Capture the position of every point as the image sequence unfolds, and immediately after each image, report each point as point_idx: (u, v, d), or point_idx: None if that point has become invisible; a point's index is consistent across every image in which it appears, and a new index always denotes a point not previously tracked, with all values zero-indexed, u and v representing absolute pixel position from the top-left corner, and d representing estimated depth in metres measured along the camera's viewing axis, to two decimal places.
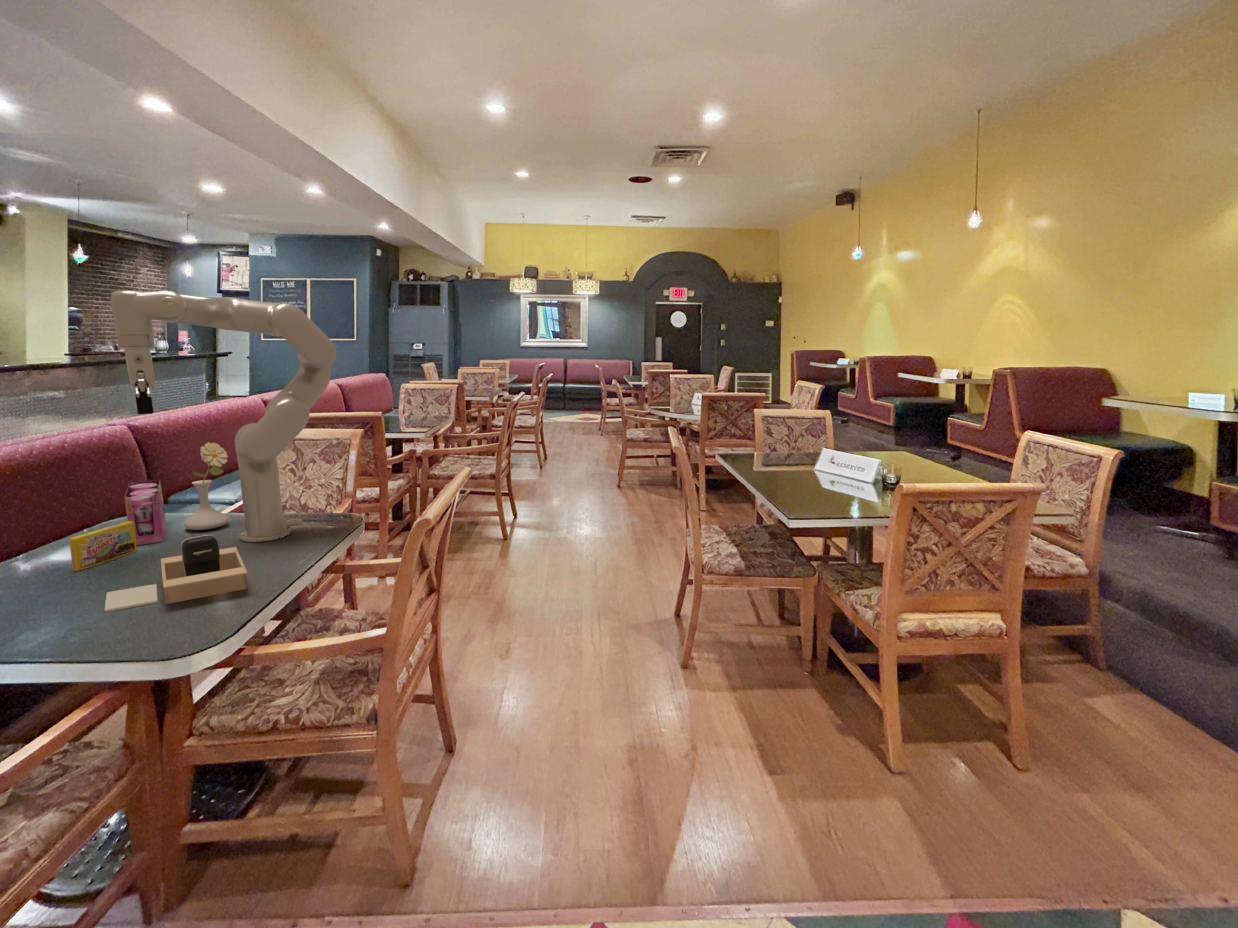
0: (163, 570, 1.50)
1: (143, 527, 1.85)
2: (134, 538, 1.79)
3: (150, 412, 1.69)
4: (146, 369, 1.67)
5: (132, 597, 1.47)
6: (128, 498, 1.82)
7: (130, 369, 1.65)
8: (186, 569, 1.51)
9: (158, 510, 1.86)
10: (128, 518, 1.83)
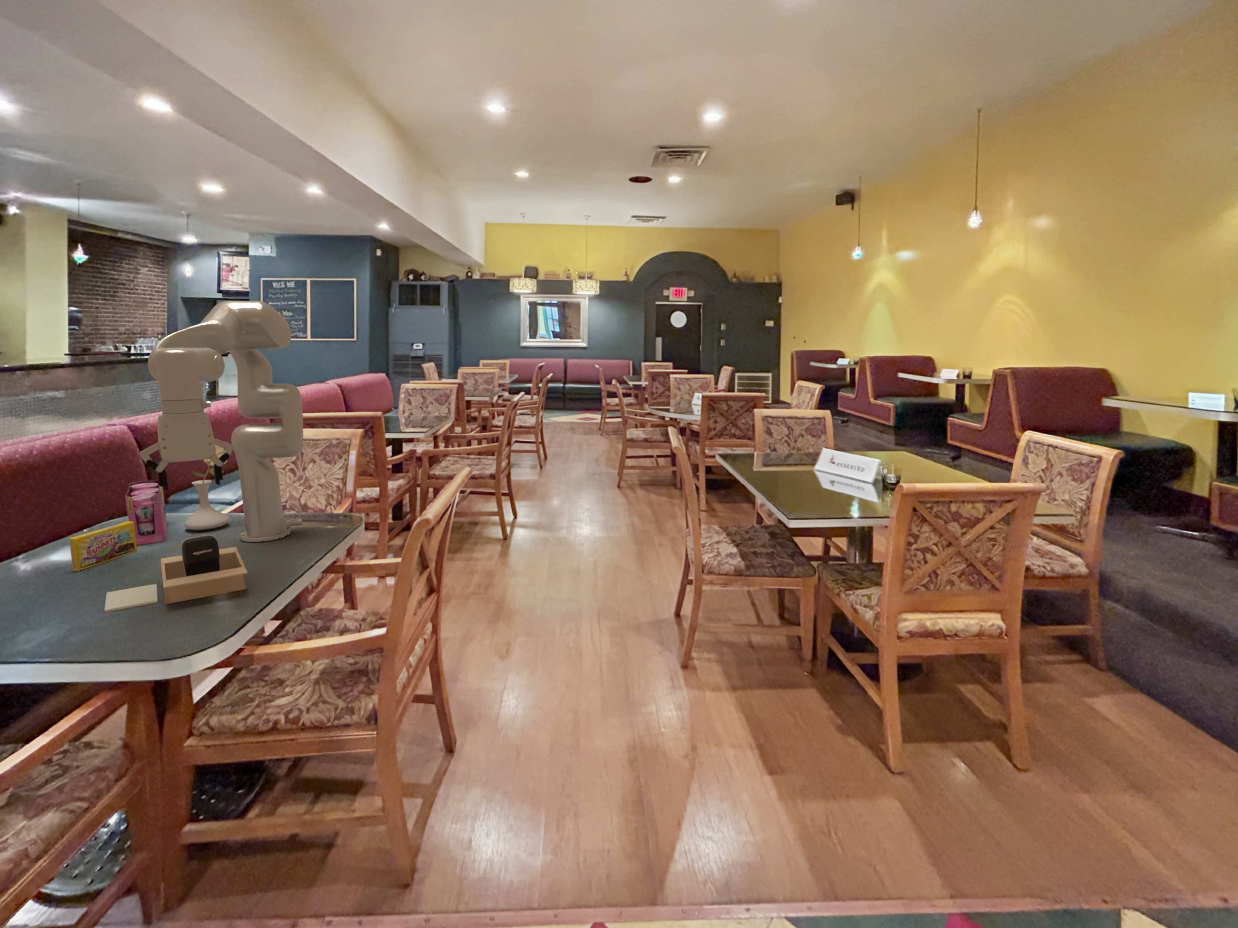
0: (163, 570, 1.50)
1: (144, 526, 1.85)
2: (134, 538, 1.79)
3: None
4: None
5: (132, 597, 1.47)
6: (129, 498, 1.83)
7: (212, 436, 1.49)
8: (186, 569, 1.51)
9: (159, 510, 1.87)
10: (129, 518, 1.83)
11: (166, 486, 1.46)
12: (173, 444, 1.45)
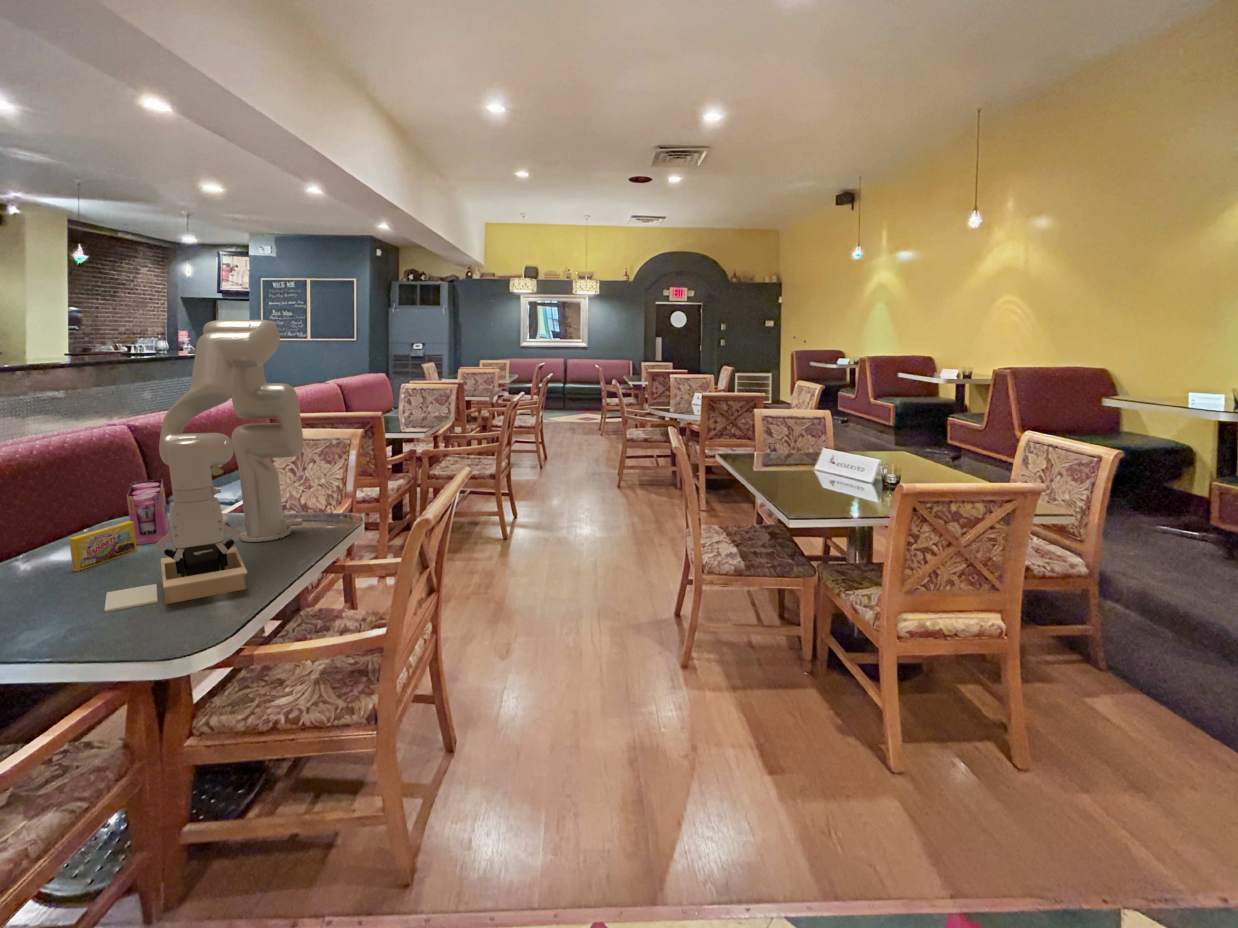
0: (163, 570, 1.50)
1: (145, 526, 1.86)
2: (134, 538, 1.79)
3: None
4: None
5: (132, 597, 1.47)
6: (130, 497, 1.83)
7: (222, 521, 1.52)
8: (186, 569, 1.51)
9: (160, 509, 1.87)
10: (130, 517, 1.84)
11: (183, 574, 1.50)
12: (184, 531, 1.48)
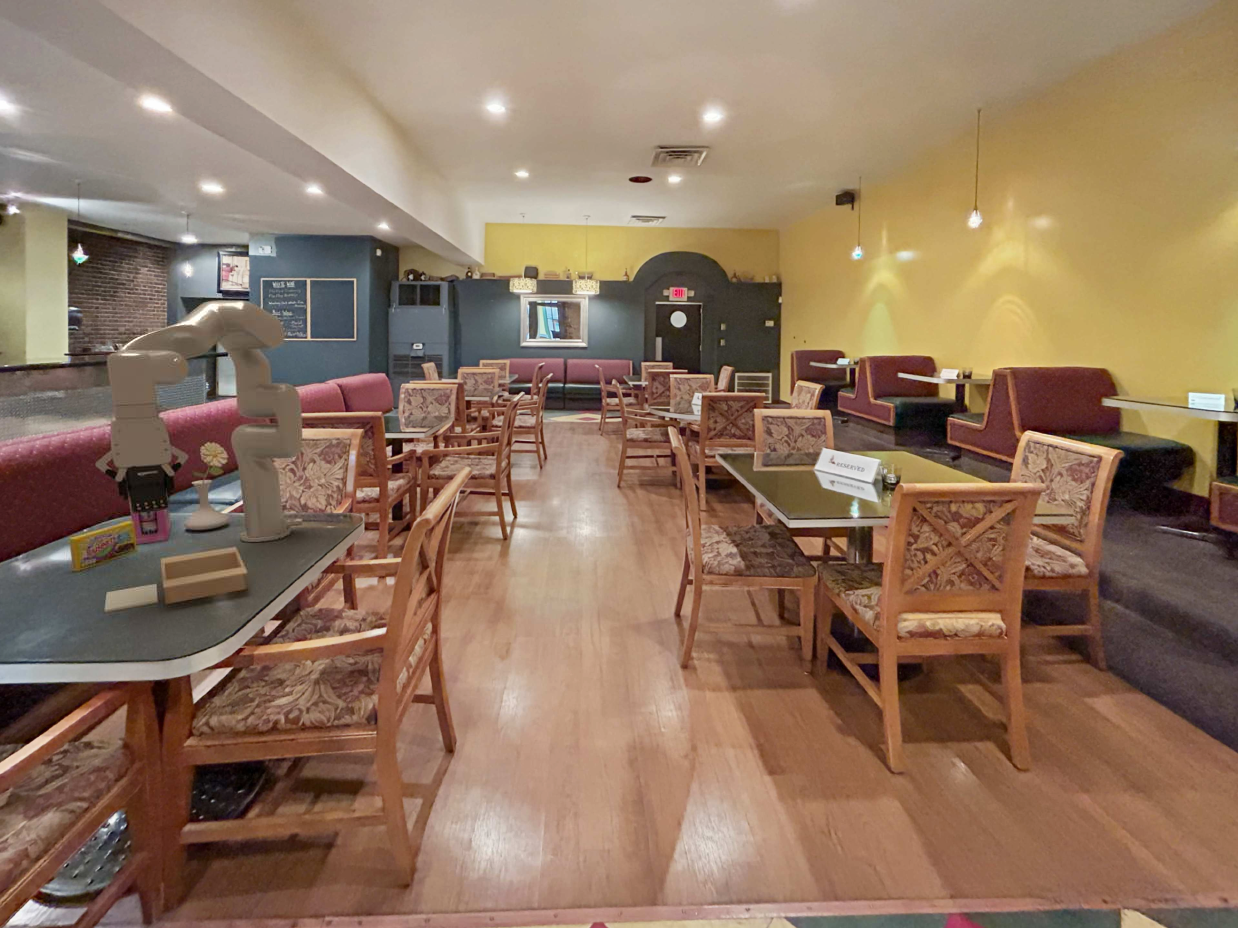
0: (163, 570, 1.50)
1: (147, 525, 1.86)
2: (134, 538, 1.79)
3: None
4: None
5: (132, 597, 1.47)
6: None
7: (167, 441, 1.45)
8: (130, 491, 1.44)
9: None
10: (132, 517, 1.84)
11: (126, 495, 1.42)
12: (127, 450, 1.41)
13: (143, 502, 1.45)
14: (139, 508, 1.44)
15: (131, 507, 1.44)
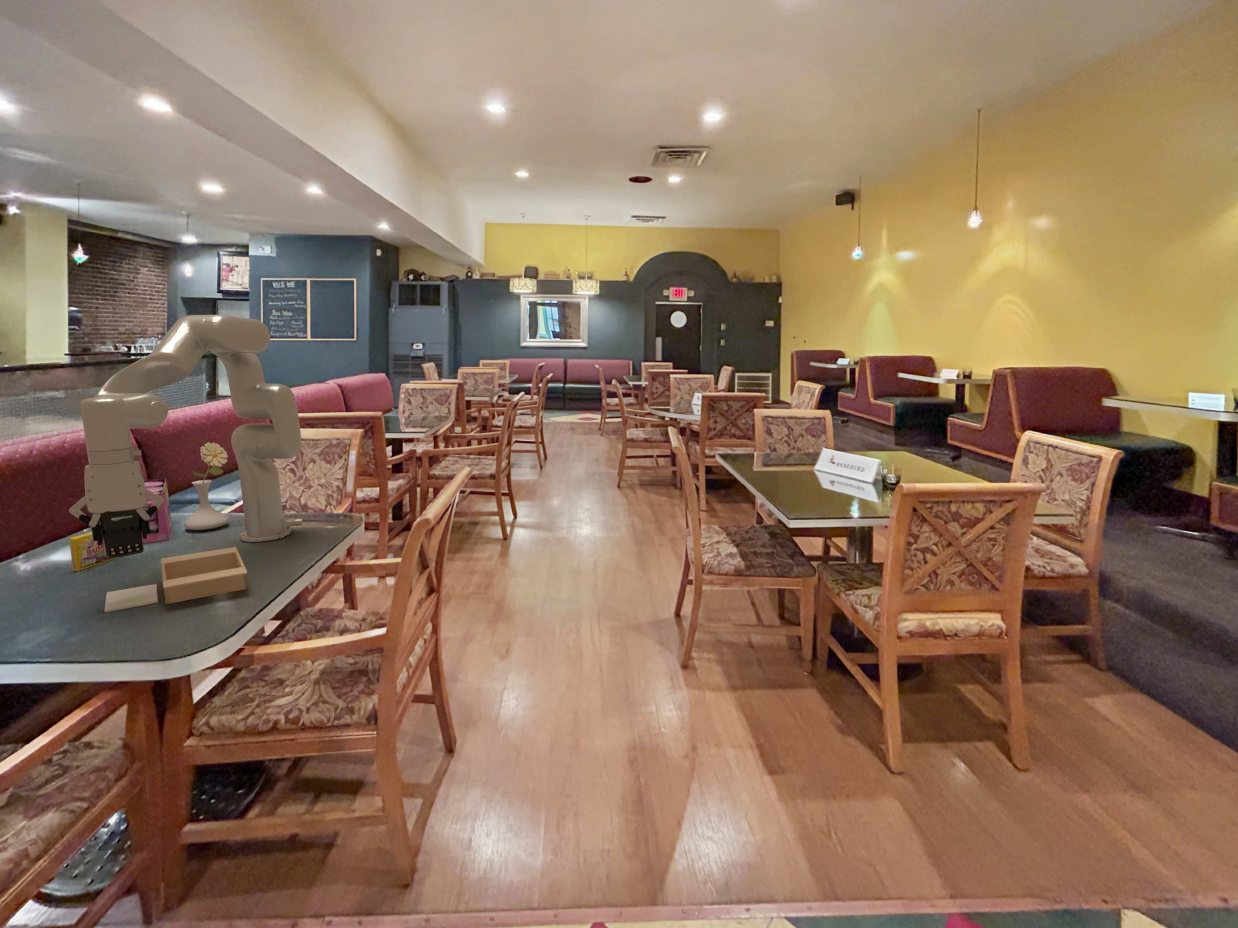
0: (163, 570, 1.50)
1: None
2: None
3: None
4: None
5: (132, 597, 1.47)
6: None
7: (142, 485, 1.44)
8: (104, 536, 1.43)
9: (163, 509, 1.88)
10: None
11: (100, 541, 1.41)
12: (100, 495, 1.40)
13: (118, 546, 1.44)
14: (113, 553, 1.43)
15: (105, 552, 1.43)
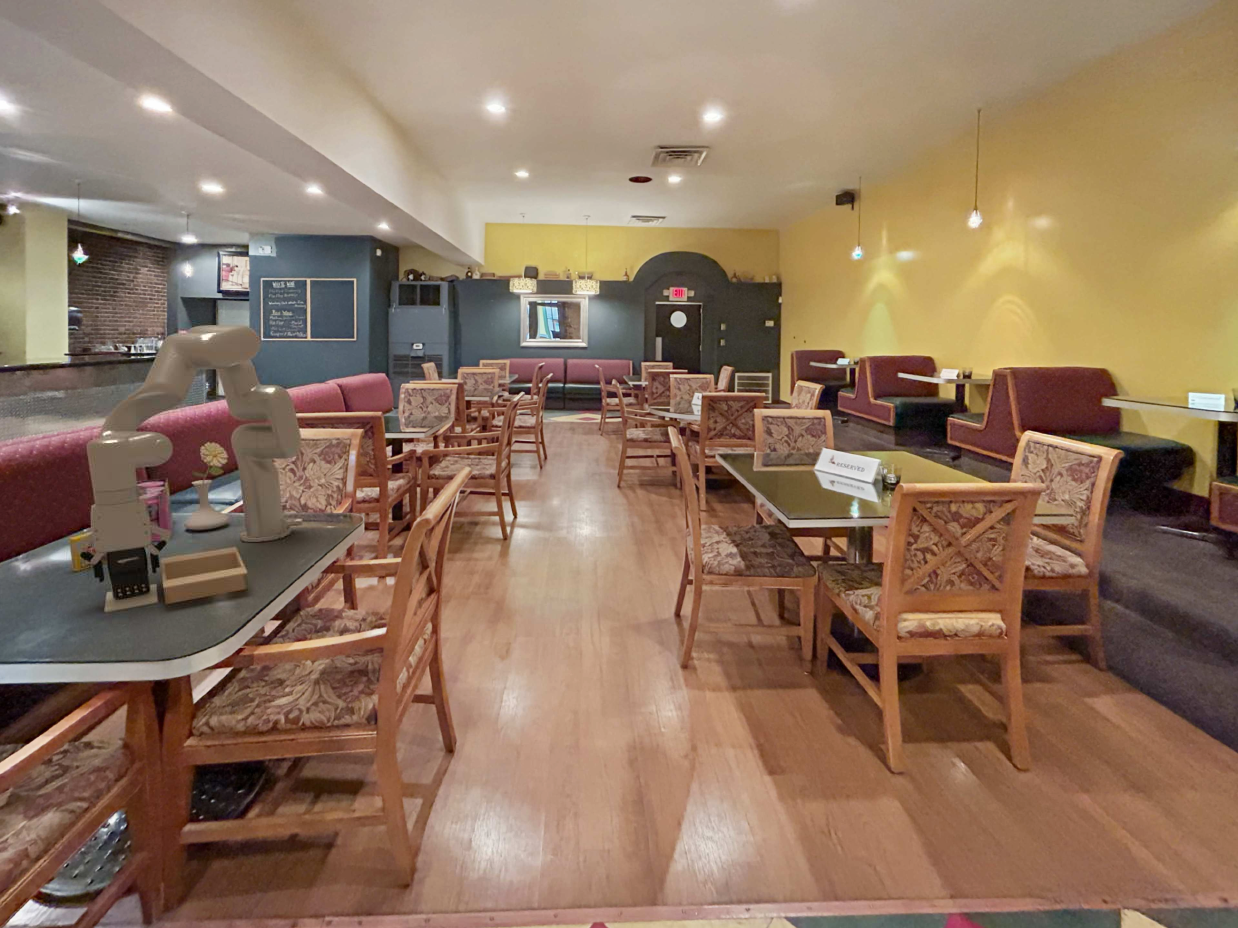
0: (163, 570, 1.50)
1: None
2: None
3: None
4: None
5: (132, 597, 1.47)
6: None
7: (148, 524, 1.45)
8: (111, 578, 1.45)
9: (164, 508, 1.88)
10: None
11: (101, 578, 1.42)
12: (107, 535, 1.41)
13: (124, 587, 1.46)
14: (120, 594, 1.45)
15: (113, 593, 1.45)
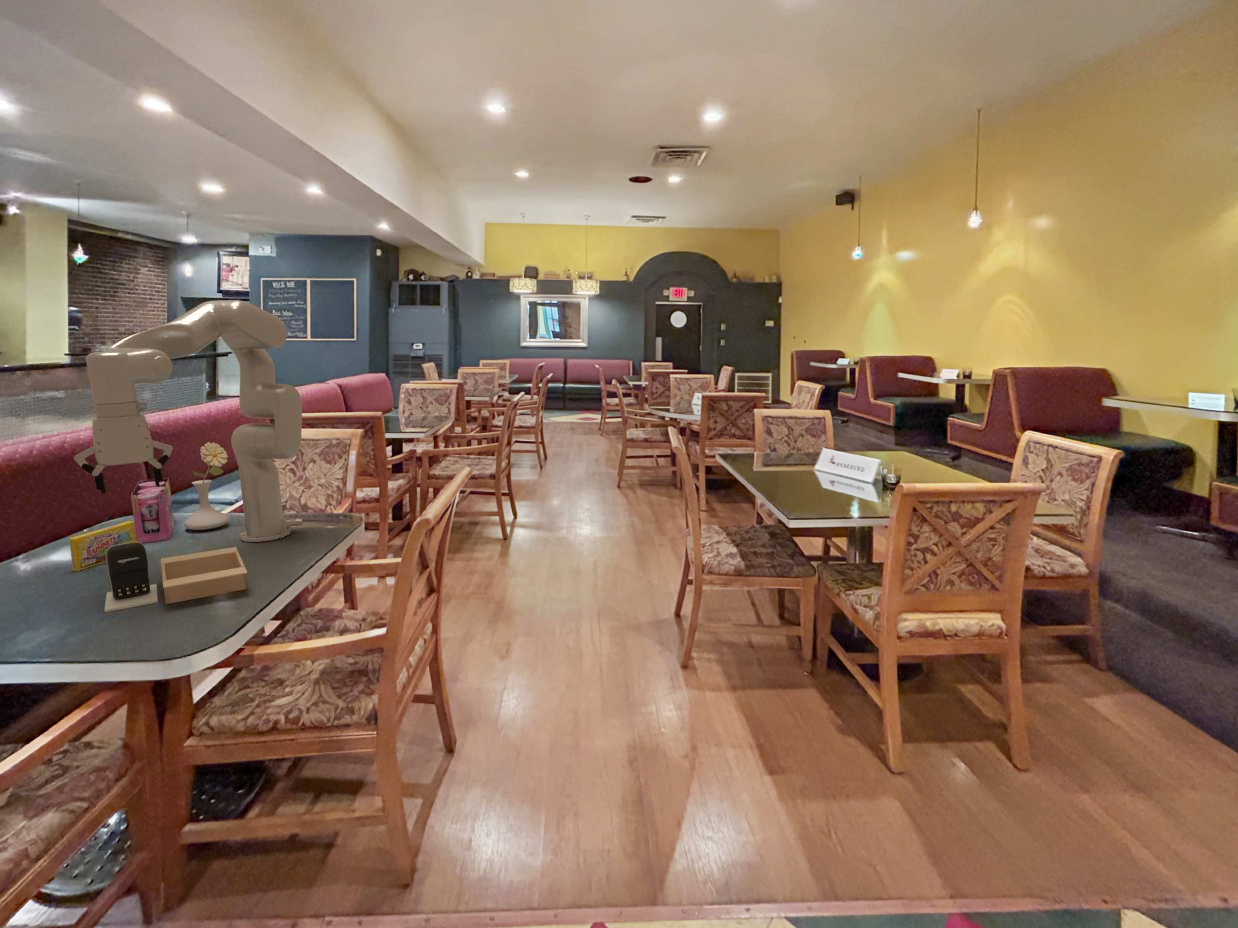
0: (163, 570, 1.50)
1: (149, 524, 1.87)
2: (134, 538, 1.79)
3: None
4: None
5: (132, 597, 1.47)
6: (134, 496, 1.84)
7: (149, 438, 1.48)
8: (111, 578, 1.45)
9: (164, 508, 1.88)
10: (134, 516, 1.85)
11: (103, 490, 1.45)
12: (109, 447, 1.44)
13: (125, 587, 1.46)
14: (120, 594, 1.45)
15: (113, 593, 1.45)
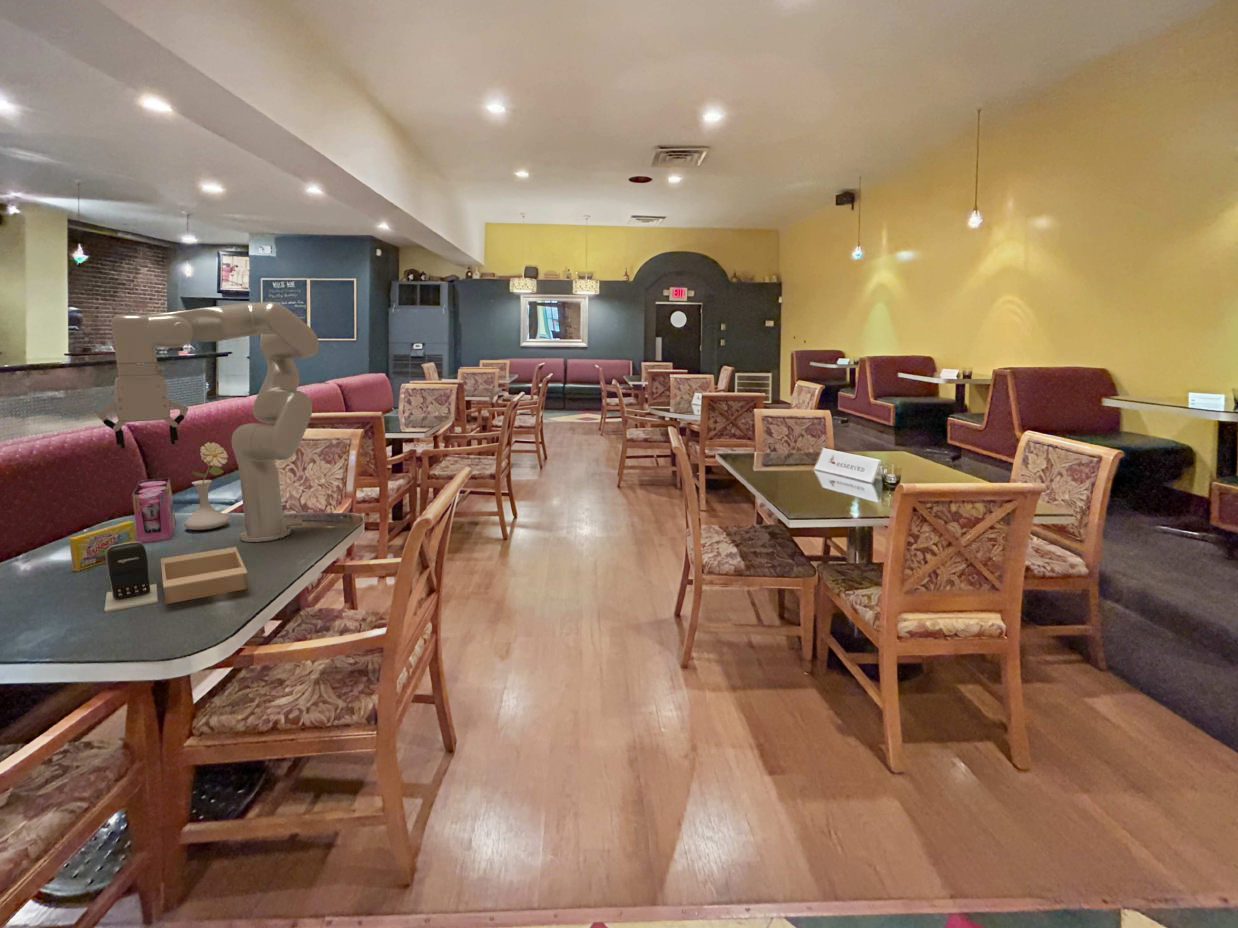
0: (163, 570, 1.50)
1: (150, 524, 1.88)
2: (134, 538, 1.79)
3: None
4: None
5: (132, 597, 1.47)
6: (136, 496, 1.85)
7: (166, 398, 1.58)
8: (111, 578, 1.45)
9: (165, 508, 1.89)
10: (136, 515, 1.86)
11: (123, 444, 1.55)
12: (129, 404, 1.54)
13: (125, 587, 1.46)
14: (120, 594, 1.45)
15: (113, 593, 1.45)
